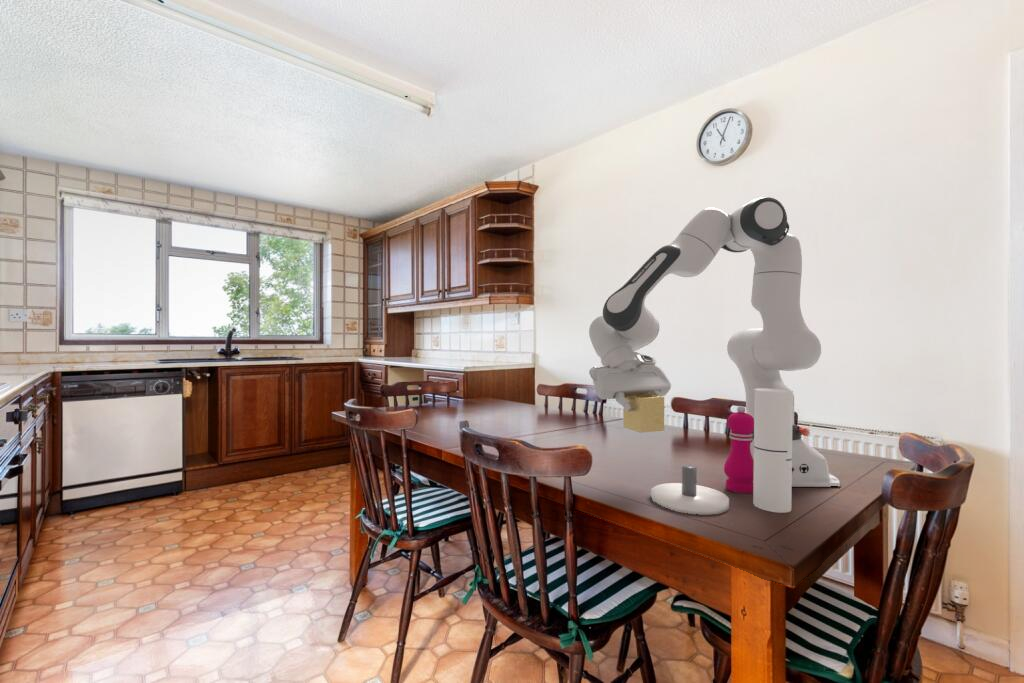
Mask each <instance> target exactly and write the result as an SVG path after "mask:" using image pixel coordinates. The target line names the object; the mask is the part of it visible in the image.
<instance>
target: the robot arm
mask: <svg viewBox="0 0 1024 683" xmlns="http://www.w3.org/2000/svg"><path fill="white" fill-rule="evenodd" d="M683 227H684V228H682V230H681V231H680V232H679V233H678V235H677V236H676V237H675V239H674V240H673V241H672V242H671V243H670V244H667V245H666V244H665V245H664V246H662V247H661V248H659V249H657V251H655V252H654V253H653V254H652V255H650V257H649V258H648V259H647V260H646V261H645V263H643V264H642V265H641V267H640V268H639V269H638V270H637V271H636V272H635V273H634V274H633V275H632V276H631V277H630V278H629V279H628V280H627V282H625V283H624V285H622V286H621V287H619V289H617V290H616V291H614V292H613V293H612V294H610V295H609V296H608V298H607V299H606V301H605V302H604V305H603V308H602V314H601V315H599V316H598V317H596V318H595V319H594V320H593V321H592V322H591V323H590V326H589V329H588V335H589V336H588V337H589V338H590V342H591V345H592V347H593V349H594V351H595V353H596V355H597V357H599V359H600V361H601V362H600V363H601V365H602V366H593V367H592V368H590V369H589V376H590V378H591V380H592V383H593V386H594V390H595V393H596V395H597V397H598V398H599V399H601V400H615V402H616V403H618V404H619V405H621V406H622V407H623V409H624V408H625V410H626V412H630V411H633V410H634V405H633V403H632V402H629V401H628V400H626V399H625V398H624V396H625V395H633V394H651V395H656V396H662V397H666V395H667V394H668V393H669V392H670V390H671V388H672V383H671V382H670V380H669V378H668V375H666V373H665V371H664V370H662V368H661V367H659V365H656V364H657V360H656V359H655V357H653V356H650V355H646V354H643V353H639V352H637V351H638V350H640V349H641V348H644V347H646V346H648V345H650V344H651V343H652V342H653V341H655V340H656V338H657V337H658V335H659V332H660V323H659V321H658V319H657V318H656V316H654V314H653V313H652V312H651V311H650V310H649V309H648V308H647V306H646V305H645V300H646V298H647V297H648V295H649V294H650V293H651V292H652V291H653V290H654V288H656V287H657V285H658V284H659V283H661V281H662V280H663V279H664V278H665V277H667V276H668V275H670V274H672V275H676V276H678V277H683V278H694V277H697V276H699V275H701V273H703V272H704V271H705V270H707V268H708V266H710V264H711V263H712V261H713V260H714V259H715V257H716V256H717V254H718V253H719V251H720V250H721V249H722V250H725V251H727V252H730V253H743V252H746V251H748V250H750V251H751V253H752V255H753V258H754V267H753V276H752V286H751V287H752V288H751V296H750V297H751V298H750V300H751V306H752V307H753V308H754V309H755V311H758V312H759V314H760V317H761V320H762V327H763V328H762V327H761V328H759V327H757V328H747V329H743V330H741V331H737V332H735V333H734V334H732V335H731V337H730V338H729V340H728V342H727V345H726V346H727V348H726V349H727V350H726V351H727V354H728V357H729V359H730V360H731V361H732V362H733V363H734V364H735V365H736V367H737V369H738V371H739V373H740V376H741V378H742V382H743V386H744V391H745V413H747V414H750V415H751V416H752V417H753V418H754V400H755V389H759V388H768V389H784V390H791V389H790V388H789V387H788V386H787V385H786V384H785V383H784V380H783V379H782V377H781V374H780V371H784V372H795V371H802V370H807V369H810V368H812V367H814V366H815V365H817V363H818V361H819V360H820V357H821V354H822V344H821V341H820V339H819V337H818V336H817V335H816V334H815V333H814V332H813V331H811V329H810V328H809V327H808V326H807V324H806V322H805V320H804V317H803V314H802V313H803V312H802V309H801V287H802V286H801V285H802V284H801V283H802V273H803V271H802V270H803V261H802V259H803V258H802V257H803V256H802V249H801V247H802V246H801V243H800V240H799V239H798V237H796V236H795V235H793V234H791V233H789V230H790V225H789V222H788V214H787V212H786V209H785V207H784V205H783V204H782V202H780V201H779V200H778V199H776V198H774V197H769V196H768V197H766V196H765V197H763V196H762V197H759V198H755V199H752V200H751V201H749V202H748V203H746V204H744V205H742V206H740V207H739V208H737V209H736V210H734V212H732V213H731V214H729V213H726V212H724V211H723V210H721V209H718V208H715V207H706V208H704V209H702V210H700V211H699V212H698V213H697V214H696V215H694V217H692V219H691V220H689V222H688V223H687V224H686V225H685V226H683ZM751 433H752V434H753V436H752V438H753V440H751V443H750V451H751V455H752V458H753V460H754V430H753V431H752V432H751ZM810 434H811V431H810V429H808V428H807V427H804V426H799V425H797V424H796V423H795V395H794V394H793V421H792V487H797V488H798V487H801V488H802V487H807V488H809V487H815V488H817V487H818V488H819V487H825V488H826V487H827V488H828V487H829V488H831V486H838V487H840V486H841V484H840V483H841V482H840V479H838V478H837V476H835V475H833V474H831V473H830V470H829V465H828V462H827V459H826V457H825V456H824V455H823V454H821V453H820V451H818V450H817V449H815V448H814V447H813V446H811V445H810V444H809V443H807V442H806V441H805V440H804V439H803V438H802V436H803V437H808V436H809V435H810Z"/></svg>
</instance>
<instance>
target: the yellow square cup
mask: <svg viewBox="0 0 1024 683" xmlns="http://www.w3.org/2000/svg"><path fill="white" fill-rule="evenodd" d="M624 398H625V399H626V400H628V401H629V402H632V403H633V405H634V410H633V411H630V412H626V410H625V408H624V407H623V428H625V429H628V430H631V431H633V432H637V433H640V434H641V433H651V432H652V433H653V432H665V396H656V395H651V394H633V395H625V396H624Z"/></svg>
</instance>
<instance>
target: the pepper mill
mask: <svg viewBox="0 0 1024 683" xmlns="http://www.w3.org/2000/svg"><path fill="white" fill-rule="evenodd" d="M736 411H737V412H733V413H731V414H730V415H729V416H728V417H727V427H728V428H729V429H730V431H729V438H730V439H731V448H730V453H729V454H728V457H727V458H726V460H725V462H724V465H723V466H724V468H723V473H724V474H725V476H726V477H727V479H726V480H725V487H726V489H728V490H729V491H731V492H734V493H738V494H753V479H754V460H753V458H752V455H751V451H750V443H751V440H753V438H752V436H753V434H752V433H751V432H752V431H753V430H754V418H753V417H752V416H751V415H750V414H747V413H746V406H743V405H739V406H737V409H736Z"/></svg>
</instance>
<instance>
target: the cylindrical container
mask: <svg viewBox="0 0 1024 683" xmlns="http://www.w3.org/2000/svg"><path fill="white" fill-rule="evenodd" d="M793 395H794V391H793V390H791V389H790V390H784V389H768V388H759V389H755V400H754V479H753V481H752V482H753V493H752V494H753V496H752V504H754V505H753V506H755V507H756V508H757V507H758V508H757V509H760V510H763V511H767V512H769V513H770V512H771V513H772V512H773V513H778V514H779V513H780V514H781V513H783V514H784V513H789V512H791V511H792V491H793V490H792V421H793Z"/></svg>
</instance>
